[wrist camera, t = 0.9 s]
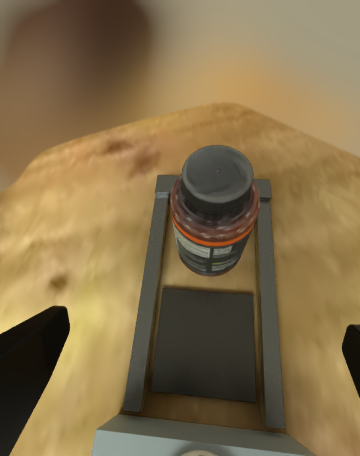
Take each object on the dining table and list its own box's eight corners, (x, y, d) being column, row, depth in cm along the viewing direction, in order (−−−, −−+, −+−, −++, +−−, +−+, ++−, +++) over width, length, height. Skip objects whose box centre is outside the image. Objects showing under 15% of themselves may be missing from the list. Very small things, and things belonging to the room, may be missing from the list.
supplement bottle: (210, 208, 27) (221, 115, 17) (255, 250, 25) (297, 173, 15) (163, 244, 25) (144, 166, 15) (206, 292, 23) (216, 239, 13)
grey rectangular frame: (278, 424, 19) (287, 430, 17) (127, 406, 20) (121, 411, 18) (265, 191, 27) (270, 179, 26) (160, 186, 28) (157, 174, 27)
